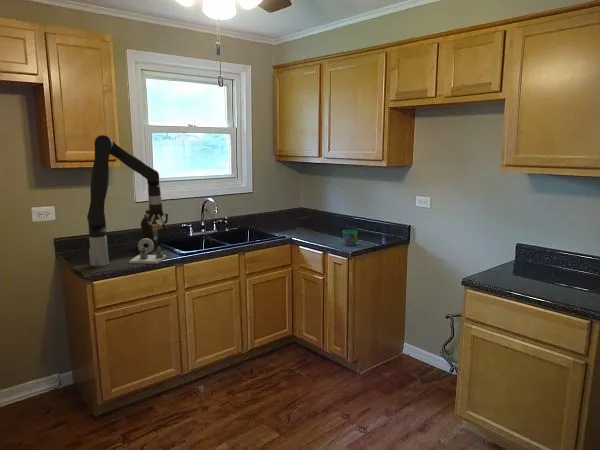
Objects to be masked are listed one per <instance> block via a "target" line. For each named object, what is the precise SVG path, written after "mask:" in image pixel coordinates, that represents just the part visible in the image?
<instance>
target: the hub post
mask: <svg viewBox="0 0 600 450" xmlns="http://www.w3.org/2000/svg"><path fill="white" fill-rule="evenodd" d="M155 255H156V258H162V257H163V255H164V252H162V247H161V246H158V247H157V252H155Z"/></svg>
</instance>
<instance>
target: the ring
mask: <svg viewBox="0 0 600 450" xmlns="http://www.w3.org/2000/svg"><path fill="white" fill-rule="evenodd" d="M152 229H157V230H161V229H162V223H157V224H154V225H152Z"/></svg>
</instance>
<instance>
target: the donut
mask: <svg viewBox="0 0 600 450" xmlns="http://www.w3.org/2000/svg"><path fill="white" fill-rule="evenodd" d="M145 243H147V244H148V245H149V246H148V247H145V252H148V254H149V253H152V251H153V249H154V248H155V246H154V243H153V241H152V240H151V239H148V238H144V239H143V238H141V239H140V240H139V241H138V244H137V249H138V251H139V253H140V252H142V248H143V247H144V246H143V245H144V244H145Z"/></svg>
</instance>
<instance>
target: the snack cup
mask: <svg viewBox="0 0 600 450" xmlns="http://www.w3.org/2000/svg"><path fill="white" fill-rule="evenodd" d="M358 233H359V230H357V229H343V230H342V238H343V241H344V242H343V243H344V245H345V246H346V245H347V247H354V246H356V243H358V241H359V239H358Z"/></svg>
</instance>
